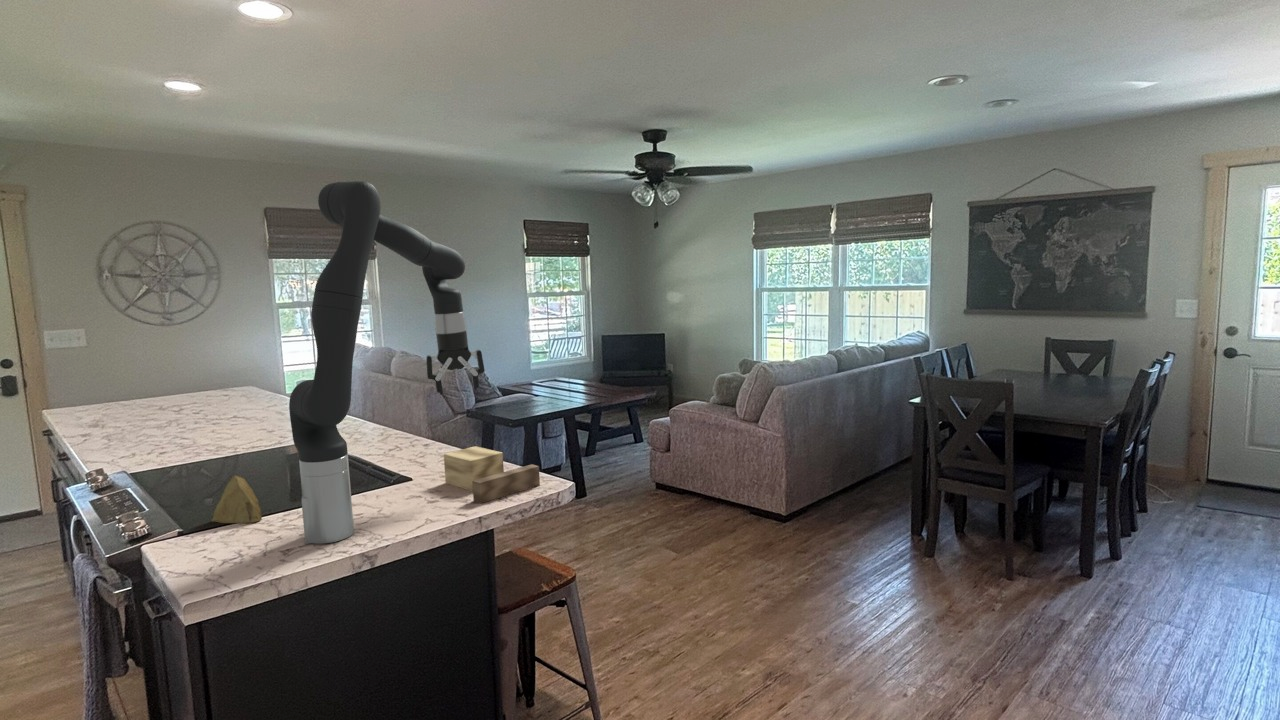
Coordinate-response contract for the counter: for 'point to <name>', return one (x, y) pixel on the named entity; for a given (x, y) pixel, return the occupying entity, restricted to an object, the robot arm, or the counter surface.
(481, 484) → the walnut board
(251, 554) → the counter surface
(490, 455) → the oak block
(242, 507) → the rock
